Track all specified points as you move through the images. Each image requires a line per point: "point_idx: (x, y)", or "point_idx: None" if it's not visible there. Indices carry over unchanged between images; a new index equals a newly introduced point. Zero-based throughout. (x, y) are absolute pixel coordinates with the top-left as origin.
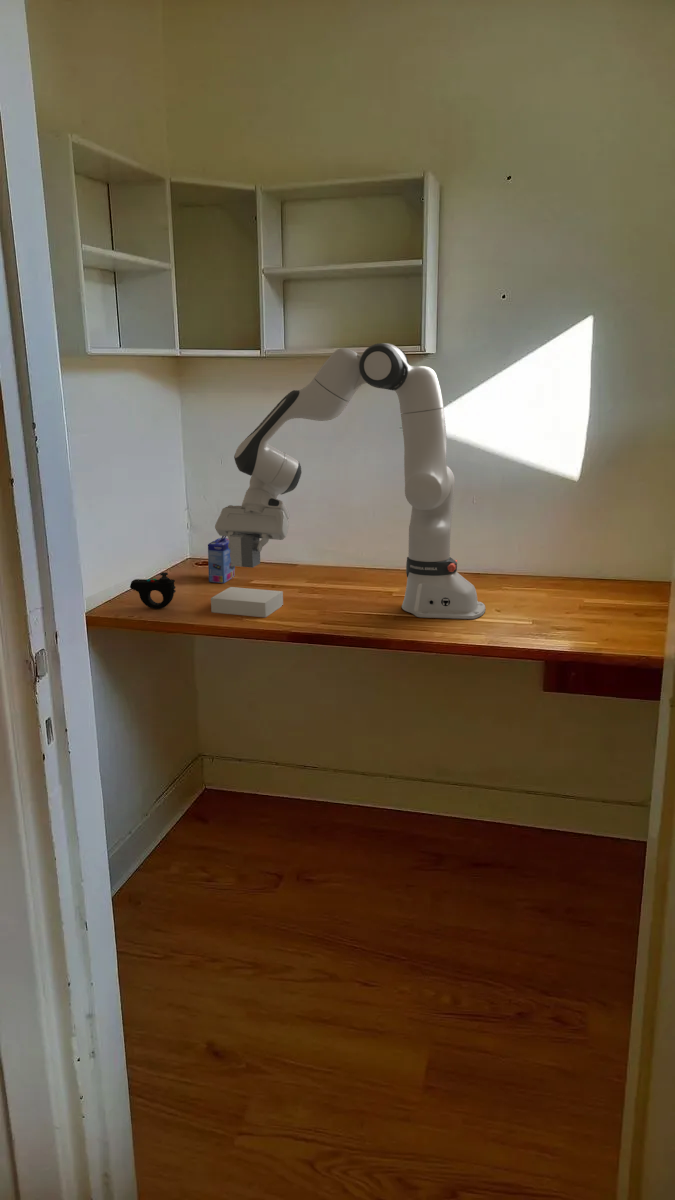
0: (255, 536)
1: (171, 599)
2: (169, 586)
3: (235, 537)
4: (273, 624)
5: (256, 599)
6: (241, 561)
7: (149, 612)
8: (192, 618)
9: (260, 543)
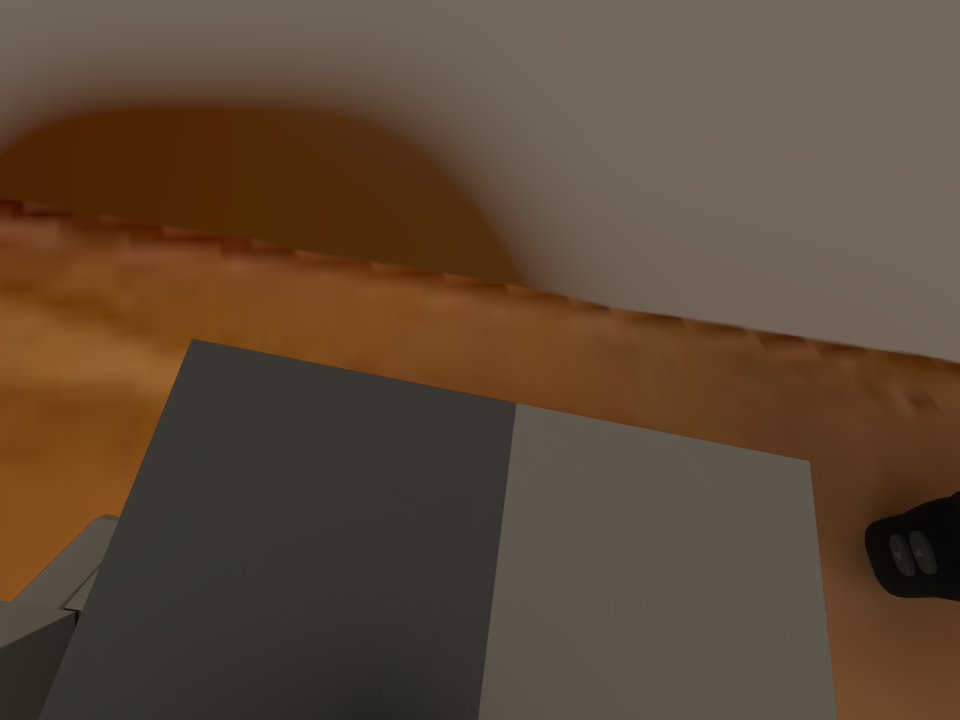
0: (84, 612)
1: (871, 547)
2: (940, 502)
3: (655, 435)
4: (173, 330)
5: None
6: None
7: (891, 474)
8: (640, 396)
9: (22, 596)
